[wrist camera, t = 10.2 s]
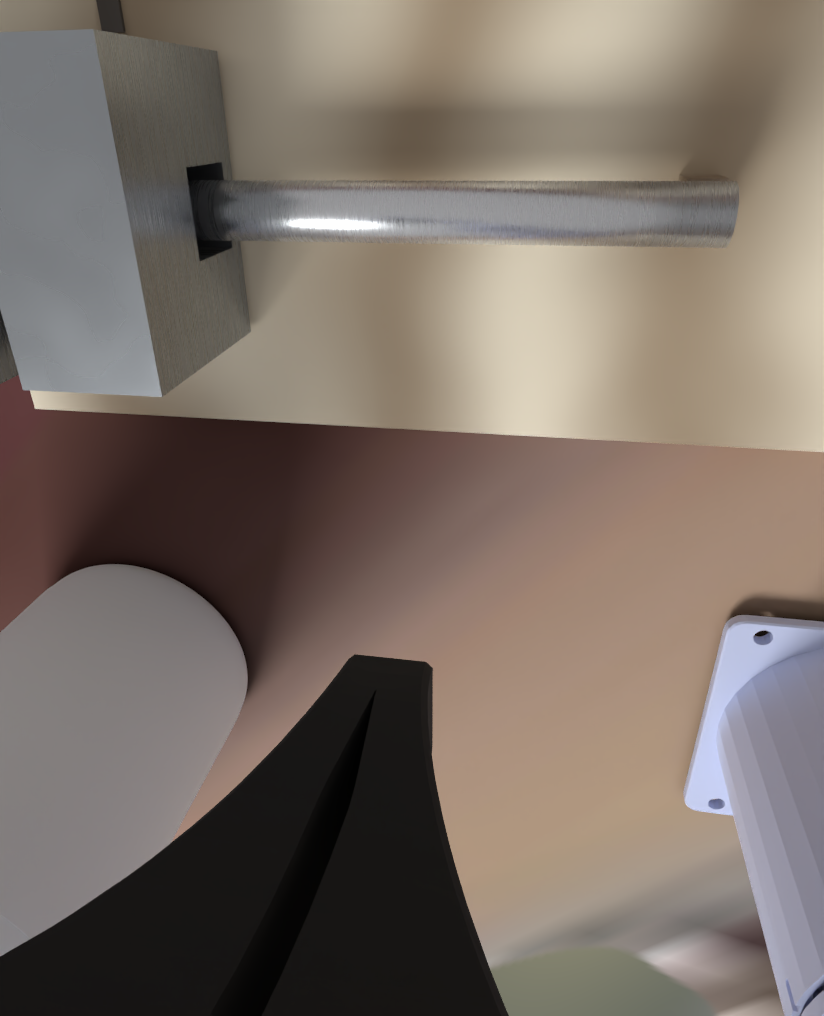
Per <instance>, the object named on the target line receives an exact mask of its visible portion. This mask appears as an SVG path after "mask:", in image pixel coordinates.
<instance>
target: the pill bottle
mask: <svg viewBox="0 0 824 1016" xmlns="http://www.w3.org/2000/svg"><path fill="white" fill-rule="evenodd" d="M247 683H248V674H247V666H246V661H245V657H244V653H243V650H242V648H241V645H240V643H239V641H238V639H237V637H236V635H235V634H234V632H233V630H232V629H231V627H230V626H229V624H228V623H227V622H226V620H225V619H224V618H223V617H222V616H221V614H220V613H219V612H218V611H217V610H216V609H215V608H214V607H213V606H212V605H211V604H210V603H209V602H207V601H206V600H205V599H204V598H203V597H201V596H200V595H199V594H197V593H196V592H195V591H193V590H192V589H190V588H189V587H187V586H186V585H184V584H182V583H180V582H179V581H177V580H175V579H173V578H171V577H168V576H166V575H164V574H161V573H159V572H156V571H153V570H150V569H146V568H142V567H138V566H132V565H124V564H104V565H97V566H91V567H87V568H84V569H81V570H78V571H76V572H73V573H71V574H69V575H68V576H66V577H64V578H63V579H61V580H60V581H58V582H57V583H56V584H54V585H53V586H51V587H50V588H48V589H47V590H46V591H45V592H44V593H42V594H41V595H40V596H39V597H38V598H37V599H36V600H35V601H34V602H33V603H32V604H31V605H29V606H28V607H27V608H26V609H25V610H24V611H23V612H22V613H21V614H20V615H19V616H18V617H16V618H15V619H14V620H13V621H12V622H11V623H10V624H9V625H8V626H7V627H6V628H5V629H4V630H2V631H1V632H0V956H2V955H4V954H5V953H7V952H9V951H10V950H12V949H14V948H16V947H17V946H19V945H21V944H23V943H24V942H26V941H28V940H29V939H31V938H33V937H35V936H36V935H38V934H40V933H42V932H43V931H45V930H47V929H48V928H50V927H52V926H53V925H55V924H56V923H58V922H60V921H61V920H63V919H64V918H66V917H68V916H69V915H71V914H72V913H74V912H75V911H77V910H78V909H80V908H81V907H83V906H84V905H86V904H87V903H88V902H90V901H91V900H93V899H94V898H96V897H97V896H99V895H100V894H102V893H103V892H105V891H106V890H108V889H109V888H111V887H112V886H114V885H115V884H117V883H118V882H120V881H121V880H122V879H124V878H125V877H127V876H128V875H130V874H131V873H132V872H134V871H135V870H137V869H138V868H139V867H141V866H142V865H143V864H145V863H146V862H147V861H149V860H150V859H151V858H153V857H154V856H155V855H156V854H158V853H159V852H160V851H162V850H163V849H164V848H165V847H167V846H168V845H169V844H170V843H171V841H172V840H173V838H174V836H175V834H176V832H177V830H178V828H179V827H180V825H181V823H182V821H183V819H184V817H185V815H186V814H187V812H188V810H189V808H190V806H191V804H192V802H193V801H194V799H195V797H196V795H197V793H198V791H199V789H200V788H201V786H202V784H203V782H204V780H205V778H206V776H207V775H208V773H209V771H210V769H211V767H212V765H213V763H214V762H215V760H216V758H217V756H218V754H219V752H220V750H221V749H222V747H223V745H224V743H225V741H226V739H227V737H228V735H229V734H230V732H231V730H232V728H233V726H234V724H235V722H236V721H237V718H238V716H239V713H240V710H241V708H242V706H243V703H244V700H245V696H246V692H247Z"/></svg>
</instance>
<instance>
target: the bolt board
mask: <svg viewBox="0 0 824 1016" xmlns="http://www.w3.org/2000/svg"><path fill="white" fill-rule="evenodd" d="M82 29H95V30H101V31H107V32H112V33H118V34H124V35H129V36H135V37H141V38H146V39H152V40H158V41H163V42H169V43H175V44H180V45H186V46H192V47H197V48H203V49H209V50H214V51H217V52H218V61H219V69H220V77H221V86H222V94H223V103H224V111H225V119H226V128H227V136H228V144H229V153H230V161H231V169H232V178H233V180H188V185H189V192H190V199H191V206H192V212H193V219H194V226H195V233H196V240H220V241H240V245H241V253H242V261H243V270H244V278H245V286H246V295H247V303H248V311H249V320H250V328H251V332H250V333H249V334H247V335H246V336H245V337H243V338H242V339H240V340H239V341H238V342H236V343H235V344H234V345H232V346H231V347H230V348H228V349H227V350H226V351H224V352H223V353H221V354H220V355H219V356H217V357H216V358H215V359H213V360H212V361H211V362H209V363H208V364H206V365H205V366H204V367H202V368H201V369H200V370H198V371H197V372H196V373H194V374H193V375H191V376H190V377H189V378H187V379H186V380H185V381H183V382H182V383H181V384H179V385H178V386H177V387H175V388H174V389H172V390H171V391H170V392H168V393H167V394H166V395H164V396H163V397H151V396H131V395H111V394H92V393H72V392H52V391H32V390H30V392H31V396H32V399H33V403H34V406H35V409H48V410H67V411H85V412H103V413H121V414H139V415H157V416H176V417H194V418H212V419H230V420H248V421H267V422H285V423H303V424H321V425H339V426H357V427H376V428H394V429H412V430H430V431H448V432H467V433H485V434H503V435H521V436H539V437H557V438H576V439H594V440H612V441H630V442H648V443H667V444H685V445H703V446H721V447H739V448H757V449H776V450H794V451H812V452H824V0H0V32H22V31H52V30H82ZM17 375H19V374H18V370H17V367H16V363H15V359H14V356H13V352H12V349H11V345H10V342H9V338H8V335H7V331H6V328H5V324H4V321H3V317H2V314H1V310H0V384H1V383H3V382H5V381H7V380H9V379H11V378H13V377H15V376H17Z"/></svg>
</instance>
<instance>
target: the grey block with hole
mask: <svg viewBox="0 0 824 1016" xmlns="http://www.w3.org/2000/svg"><path fill="white" fill-rule="evenodd" d="M188 180H233V178H232V169H231V161H230V153H229V144H228V136H227V128H226V119H225V111H224V103H223V94H222V86H221V77H220V69H219V61H218V52H217V51H214V50H209V49H203V48H197V47H192V46H186V45H180V44H175V43H169V42H163V41H158V40H152V39H146V38H141V37H135V36H129V35H124V34H118V33H112V32H107V31H101V30H95V29H82V30H52V31H22V32H0V310H1V314H2V317H3V321H4V324H5V328H6V331H7V335H8V338H9V342H10V345H11V349H12V352H13V356H14V359H15V363H16V367H17V370H18V374H19V377H20V381H21V384H22V388H23V390H32V391H52V392H72V393H92V394H111V395H131V396H151V397H163V396H164V395H166V394H167V393H168V392H170V391H171V390H172V389H174V388H175V387H177V386H178V385H179V384H181V383H182V382H183V381H185V380H186V379H187V378H189V377H190V376H191V375H193V374H194V373H196V372H197V371H198V370H200V369H201V368H202V367H204V366H205V365H206V364H208V363H209V362H211V361H212V360H213V359H215V358H216V357H217V356H219V355H220V354H221V353H223V352H224V351H226V350H227V349H228V348H230V347H231V346H232V345H234V344H235V343H236V342H238V341H239V340H240V339H242V338H243V337H245V336H246V335H247V334H249V333H250V332H251V328H250V320H249V311H248V303H247V295H246V286H245V278H244V270H243V261H242V253H241V245H240V241H220V240H196V233H195V226H194V219H193V212H192V206H191V199H190V192H189V185H188Z"/></svg>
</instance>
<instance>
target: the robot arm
mask: <svg viewBox="0 0 824 1016" xmlns="http://www.w3.org/2000/svg"><path fill="white" fill-rule="evenodd" d="M764 630H766V631H769V632H768V633H767V634H766V635H764V636H754V635H755V634H756V633H757V632H759V631H764ZM432 671H433V668H432V667H431V666H430V665H429V664H428V663H427V662H421V661H412V660H402V659H393V658H383V657H374V656H364V655H354V656H352V657H351V658H350V659H348V661H347V662H346V664H345V665H344V666H343V668H342V669H341V670H340V672H339V673H338V674H337V675H336V677H335V678H334V679H333V681H332V682H331V683H330V684H329V686H328V687H327V688H326V690H325V691H324V692H323V693H322V694H321V696H320V697H319V698H318V699H317V701H316V702H315V703H314V704H313V705H312V707H311V708H310V709H309V710H308V711H307V712H306V714H305V715H304V716H303V717H302V718H301V719H300V720H299V722H298V723H297V724H296V725H295V726H294V727H293V728H292V729H291V731H290V732H289V733H288V734H287V735H286V736H285V737H284V738H283V740H282V741H281V742H280V743H279V744H278V745H277V746H276V747H275V748H274V749H273V750H272V751H271V752H270V753H269V754H268V755H267V756H266V757H265V758H264V759H263V760H262V761H261V763H260V764H259V765H258V766H257V767H256V768H255V769H254V770H253V771H252V772H251V773H250V774H249V775H248V776H247V777H246V778H245V779H244V780H243V781H242V782H241V783H240V784H239V785H238V786H237V787H235V788H234V789H233V790H232V791H231V792H230V793H229V794H228V795H227V796H226V797H225V798H224V799H223V800H221V801H220V802H219V803H218V804H217V805H216V806H215V807H214V808H213V809H211V810H210V811H209V812H208V813H207V814H206V815H204V816H203V817H202V818H201V819H200V820H199V821H197V822H196V823H195V824H194V825H193V826H192V827H190V828H189V829H188V830H187V831H185V832H184V833H183V834H182V835H180V836H179V837H178V838H177V839H175V840H174V841H173V842H172V843H170V844H169V845H168V846H167V847H165V848H164V849H163V850H162V851H160V852H159V853H158V854H156V855H155V856H154V857H153V858H151V859H150V860H149V861H147V862H146V863H145V864H143V865H142V866H141V867H139V868H138V869H137V870H135V871H134V872H132V873H131V874H130V875H128V876H127V877H125V878H124V879H122V880H121V881H120V882H118V883H117V884H115V885H114V886H112V887H111V888H109V889H108V890H106V891H105V892H103V893H102V894H100V895H99V896H97V897H96V898H94V899H93V900H91V901H90V902H88V903H87V904H86V905H84V906H83V907H81V908H80V909H78V910H77V911H75V912H74V913H72V914H71V915H69V916H68V917H66V918H64V919H63V920H61V921H60V922H58V923H56V924H55V925H53V926H52V927H50V928H48V929H47V930H45V931H43V932H42V933H40V934H38V935H36V936H35V937H33V938H31V939H29V940H28V941H26V942H24V943H23V944H21V945H19V946H17V947H16V948H14V949H12V950H10V951H9V952H7V953H5V954H4V955H2V956H0V1016H509V1015H508V1013H507V1011H506V1008H505V1006H504V1003H503V1001H502V999H501V996H500V994H499V991H498V988H497V986H496V983H495V981H494V978H493V976H492V973H491V971H490V968H489V966H488V963H487V960H486V957H485V954H484V952H483V949H482V946H481V943H480V940H479V937H478V935H477V932H476V929H475V926H474V923H473V920H472V918H471V915H470V912H469V909H468V906H467V903H466V900H465V897H464V894H463V890H462V887H461V884H460V880H459V877H458V874H457V870H456V867H455V863H454V860H453V856H452V852H451V849H450V845H449V841H448V837H447V833H446V829H445V824H444V820H443V816H442V811H441V806H440V801H439V796H438V792H437V786H436V781H435V775H434V769H433V761H432ZM716 798H718V799H716ZM684 799H685V803H686V805H687V806H688V807H689V808H691V809H693V810H696V811H702V812H710V813H717V814H725V815H733V816H734V820H735V824H736V828H737V832H738V836H739V840H740V843H741V847H742V851H743V855H744V859H745V863H746V867H747V871H748V875H749V879H750V882H751V886H752V890H753V894H754V898H755V902H756V906H757V910H758V914H759V918H760V922H761V925H762V929H763V933H764V937H765V941H766V945H767V949H768V953H769V957H770V961H771V964H772V968H773V972H774V976H775V980H776V984H777V988H778V992H779V996H780V1000H781V1003H782V1007H783V1011H784V1015H785V1016H824V622H821V621H810V620H799V619H787V618H776V617H765V616H754V615H738V616H735V617H732V618H731V619H730V620H728V621H727V622H726V624H725V626H724V629H723V633H722V637H721V641H720V645H719V649H718V654H717V658H716V662H715V666H714V670H713V674H712V678H711V682H710V686H709V690H708V694H707V698H706V702H705V706H704V710H703V714H702V718H701V723H700V727H699V731H698V735H697V739H696V743H695V747H694V751H693V755H692V759H691V763H690V767H689V771H688V775H687V779H686V783H685V787H684ZM712 799H715V800H712Z"/></svg>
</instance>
